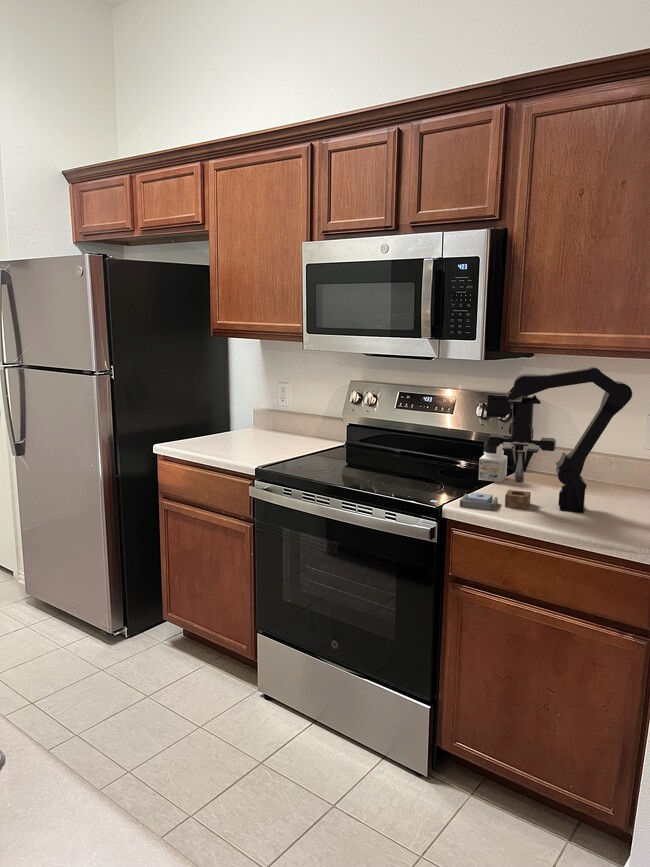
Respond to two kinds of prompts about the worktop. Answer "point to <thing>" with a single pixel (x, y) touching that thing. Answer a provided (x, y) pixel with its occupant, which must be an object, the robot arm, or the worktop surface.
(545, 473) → the worktop surface
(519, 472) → the cylinder
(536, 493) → the worktop surface
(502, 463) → the container
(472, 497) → the block
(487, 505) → the tray
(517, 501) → the go block
